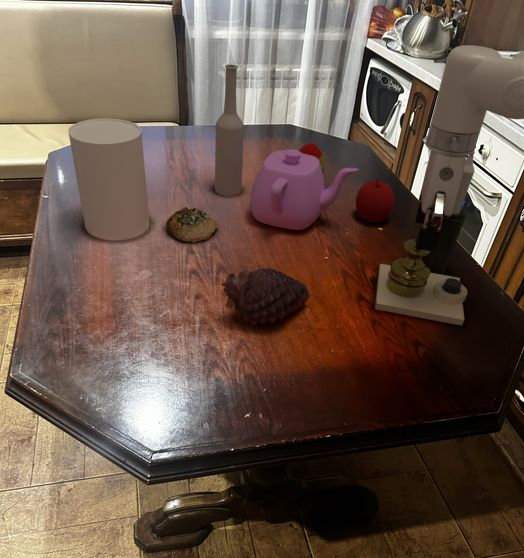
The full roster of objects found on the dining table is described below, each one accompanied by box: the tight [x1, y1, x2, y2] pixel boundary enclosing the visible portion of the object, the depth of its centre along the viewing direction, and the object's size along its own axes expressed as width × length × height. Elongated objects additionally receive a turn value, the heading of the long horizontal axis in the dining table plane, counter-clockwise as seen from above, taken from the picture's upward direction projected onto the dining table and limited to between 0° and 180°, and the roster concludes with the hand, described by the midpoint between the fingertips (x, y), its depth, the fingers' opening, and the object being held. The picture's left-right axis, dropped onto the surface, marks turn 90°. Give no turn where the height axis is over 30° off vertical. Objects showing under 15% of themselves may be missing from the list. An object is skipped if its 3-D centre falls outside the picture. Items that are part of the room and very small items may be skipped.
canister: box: [67, 117, 150, 241], centre depth 105 cm, size 14×14×20 cm
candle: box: [422, 150, 476, 275], centre depth 99 cm, size 5×5×25 cm
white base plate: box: [374, 263, 468, 326], centre depth 99 cm, size 16×14×3 cm
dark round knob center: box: [443, 278, 463, 294], centre depth 97 cm, size 3×3×2 cm
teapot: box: [249, 148, 359, 231], centre depth 113 cm, size 23×21×15 cm
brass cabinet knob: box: [386, 238, 431, 297], centre depth 96 cm, size 7×7×10 cm
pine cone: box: [220, 267, 311, 326], centre depth 89 cm, size 18×10×10 cm
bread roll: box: [165, 206, 219, 243], centre depth 111 cm, size 11×11×5 cm
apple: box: [355, 178, 395, 224], centre depth 119 cm, size 9×9×10 cm
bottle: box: [214, 63, 245, 197], centre depth 119 cm, size 7×7×28 cm
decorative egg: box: [298, 142, 325, 175], centre depth 131 cm, size 8×8×10 cm
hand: (424, 235), depth 91 cm, fingers open, 9 cm apart
